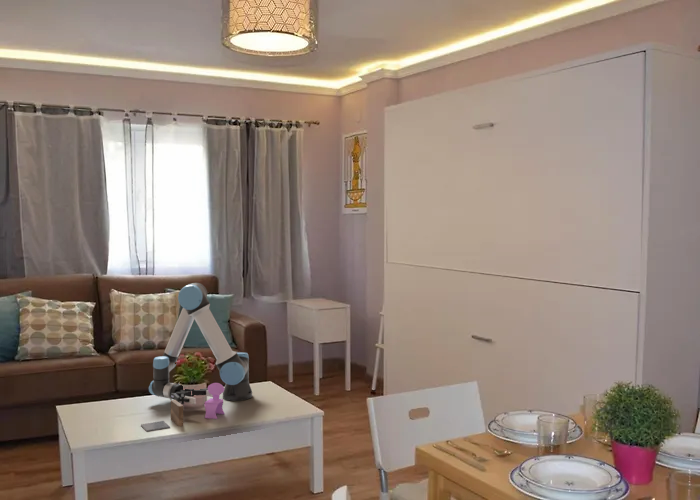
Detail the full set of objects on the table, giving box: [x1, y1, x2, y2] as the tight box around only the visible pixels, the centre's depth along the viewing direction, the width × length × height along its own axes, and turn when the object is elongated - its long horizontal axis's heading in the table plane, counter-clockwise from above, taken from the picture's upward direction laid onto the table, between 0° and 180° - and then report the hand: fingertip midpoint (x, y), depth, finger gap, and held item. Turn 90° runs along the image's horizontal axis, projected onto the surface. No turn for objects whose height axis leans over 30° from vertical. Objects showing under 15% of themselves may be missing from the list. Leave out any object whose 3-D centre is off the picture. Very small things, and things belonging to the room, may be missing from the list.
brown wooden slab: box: [170, 399, 184, 427], centre depth 297 cm, size 2×12×9 cm, turn 32°
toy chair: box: [204, 382, 226, 420], centre depth 308 cm, size 8×9×15 cm
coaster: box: [140, 420, 171, 432], centre depth 292 cm, size 10×10×1 cm
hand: (206, 397), depth 310 cm, fingers open, 13 cm apart
